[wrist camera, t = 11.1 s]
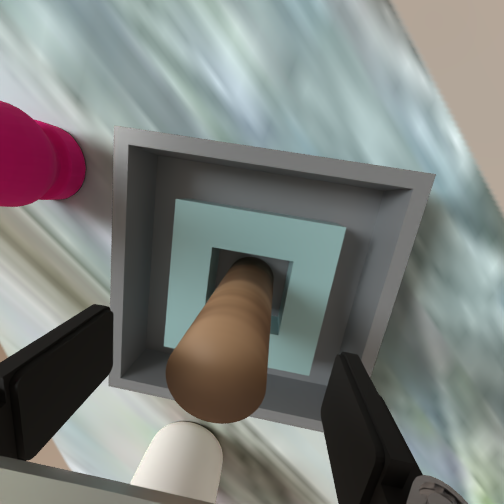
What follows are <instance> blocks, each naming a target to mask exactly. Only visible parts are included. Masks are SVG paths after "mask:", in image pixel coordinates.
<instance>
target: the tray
mask: <svg viewBox="0 0 504 504" xmlns="http://www.w3.org/2000/svg"><path fill="white" fill-rule="evenodd" d="M435 176H436V174H431V173H424V172H418V171H411V170H405V169H398V168H391V167H385V166H378V165H371V164H365V163H358V162H352V161H345V160H338V159H332V158H325V157H319V156H312V155H305V154H299V153H292V152H286V151H279V150H272V149H266V148H259V147H253V146H246V145H239V144H233V143H226V142H220V141H213V140H206V139H200V138H193V137H187V136H180V135H173V134H167V133H160V132H154V131H147V130H140V129H134V128H127V127H121V126H114V154H113V201H112V248H111V295H110V309H111V311H112V312H113V314H114V321H113V367H112V370H111V372H110V374H109V386H111V387H116V388H120V389H125V390H130V391H134V392H139V393H144V394H148V395H153V396H157V397H162V398H167V399H171V400H175V399H174V398H173V396H172V395H171V393H170V391H169V389H168V386H167V382H166V365H167V362H168V359H169V357H170V355H171V354H172V352H173V351H174V349H175V348H176V346H177V345H178V343H179V342H180V340H181V339H182V338H183V336H184V335H185V333H186V332H187V330H188V329H189V327H190V326H191V324H192V323H193V322H194V320H195V319H196V317H197V316H198V314H199V313H200V311H201V310H202V308H203V307H204V306H205V304H206V303H207V301H208V300H209V298H210V297H211V295H212V294H213V292H214V291H215V290H216V288H217V287H218V285H219V284H220V282H221V281H222V279H223V278H224V276H225V275H226V273H227V272H228V271H229V269H230V268H231V266H232V265H233V264H234V263H235V262H236V261H237V260H239V259H241V258H244V257H256V258H259V259H261V260H263V261H264V262H266V263H267V264H268V265H269V267H270V268H271V270H272V272H273V277H274V283H273V297H272V312H271V326H270V341H269V355H268V369H267V384H266V393H265V396H264V399H263V401H262V403H261V405H260V406H259V408H258V409H257V410H256V411H255V412H254V413H253V414H251V415H250V417H255V418H259V419H264V420H268V421H273V422H278V423H282V424H287V425H292V426H296V427H301V428H305V429H310V430H315V431H319V432H324V430H323V425H322V420H321V406H322V402H323V399H324V395H325V392H326V388H327V385H328V381H329V378H330V375H331V371H332V368H333V364H334V361H335V357H336V355H337V354H338V355H340V354H341V353H342V352H348V353H353V354H357V355H358V356H359V357H360V359H361V361H362V363H363V365H364V367H365V369H366V371H367V373H368V375H369V377H371V374H372V371H373V368H374V365H375V362H376V359H377V356H378V352H379V349H380V346H381V343H382V340H383V337H384V334H385V331H386V328H387V325H388V322H389V318H390V315H391V312H392V309H393V306H394V303H395V300H396V297H397V294H398V291H399V287H400V284H401V281H402V278H403V275H404V272H405V269H406V266H407V263H408V260H409V256H410V253H411V250H412V247H413V244H414V241H415V238H416V235H417V232H418V229H419V225H420V222H421V219H422V216H423V213H424V210H425V207H426V204H427V201H428V198H429V194H430V191H431V188H432V185H433V182H434V179H435Z"/></svg>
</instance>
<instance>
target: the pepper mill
mask: <svg viewBox="0 0 504 504" xmlns="http://www.w3.org/2000/svg"><path fill="white" fill-rule="evenodd" d="M85 171H86V167H85V160H84V156H83V154H82V151H81V149H80V147H79V145H78V144H77V142H76V141H75V140H74V138H73V137H72V136H71V135H70V134H68V133H67V132H66V131H64V130H63V129H61V128H59V127H56V126H53V125H50V124H47V123H44V122H41V121H37V120H33V119H32V118H31V117H30V116H29V115H27V114H26V113H25V112H23V111H22V110H20V109H19V108H17V107H15V106H13V105H11V104H8V103H5V102H2V101H0V206H6V207H18V206H24V205H27V204H31V203H33V202H35V201H37V200H38V199H40V200H60V199H66V198H68V197H70V196H72V195H74V194H75V193H76V192H77V191H78V190H79V189H80V187H81V186H82V183H83V181H84V178H85Z"/></svg>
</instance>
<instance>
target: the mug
mask: <svg viewBox="0 0 504 504" xmlns="http://www.w3.org/2000/svg"><path fill="white" fill-rule="evenodd" d="M222 464H223V453H222V448H221V446H220V444H219V442H218V440H217V439H216V437H215V436H214V435H213V434H212V433H211V432H210V431H209V430H207V429H206V428H204V427H203V426H201V425H198V424H195V423H191V422H175V423H172V424H169V425H167V426H165V427H163V428H162V429H161V430H160V431H159V432H158V433H157V434H156V435H155V437H154V438H153V440H152V441H151V443H150V445H149V447H148V449H147V451H146V453H145V455H144V457H143V459H142V461H141V463H140V465H139V466H138V468H137V470H136V472H135V474H134V476H133V478H132V480H131V482H130V484H131V485H136V486H140V487H145V488H149V489H153V490H158V491H162V492H167V493H171V494H175V495H180V496H184V497H188V498H193V499H197V500H202V501H206V502H210V503H214V504H215V502H216V497H217V492H218V487H219V482H220V477H221V471H222Z"/></svg>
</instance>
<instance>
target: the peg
mask: <svg viewBox="0 0 504 504" xmlns="http://www.w3.org/2000/svg"><path fill="white" fill-rule="evenodd" d="M273 283H274V277H273V272H272V270H271V268H270V267H269V265H268V264H267V263H266V262H264V261H263V260H261V259H259V258H256V257H244V258H241V259H239V260H237V261H236V262H235V263H234V264H233V265H232V266H231V268H230V269H229V271H228V272H227V273H226V275H225V276H224V278H223V279H222V281H221V282H220V284H219V285H218V287H217V288H216V290H215V291H214V292H213V294H212V295H211V297H210V298H209V300H208V301H207V303H206V304H205V306H204V307H203V308H202V310H201V311H200V313H199V314H198V316H197V317H196V319H195V320H194V322H193V323H192V324H191V326H190V327H189V329H188V330H187V332H186V333H185V335H184V336H183V338H182V339H181V340H180V342H179V343H178V345H177V346H176V348H175V349H174V351H173V352H172V354H171V355H170V357H169V359H168V362H167V365H166V382H167V386H168V389H169V391H170V393H171V395H172V396H173V398H174V399H175V401H176V402H177V403H178V404H179V405H180V406H181V407H182V408H183V409H184V410H185V411H186V412H188V413H189V414H191V415H193V416H195V417H196V418H199V419H201V420H204V421H207V422H212V423H221V424H223V423H233V422H237V421H240V420H243V419H245V418H247V417H248V416H250V415H251V414H253V413H254V412H255V411H256V410H257V409H258V408H259V406H260V405H261V403H262V401H263V399H264V396H265V393H266V384H267V369H268V355H269V341H270V326H271V312H272V297H273Z"/></svg>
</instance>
